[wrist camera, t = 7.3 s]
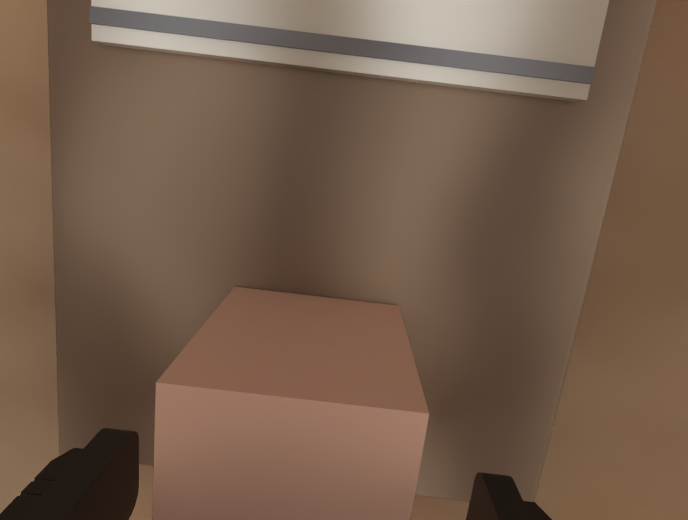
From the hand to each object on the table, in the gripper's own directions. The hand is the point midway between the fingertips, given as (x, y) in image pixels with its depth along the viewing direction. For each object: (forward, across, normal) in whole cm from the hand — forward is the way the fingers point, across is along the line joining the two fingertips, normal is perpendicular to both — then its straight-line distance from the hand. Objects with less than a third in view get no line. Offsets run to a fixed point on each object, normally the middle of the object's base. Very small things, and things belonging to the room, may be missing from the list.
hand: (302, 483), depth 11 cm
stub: (+4, 0, 0) cm, 4 cm away
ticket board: (+6, 0, -9) cm, 10 cm away
